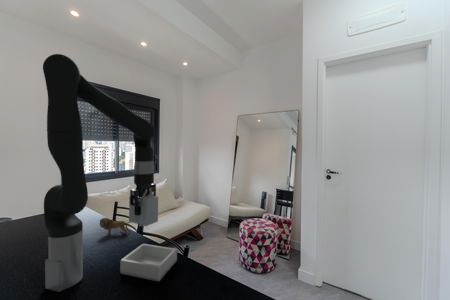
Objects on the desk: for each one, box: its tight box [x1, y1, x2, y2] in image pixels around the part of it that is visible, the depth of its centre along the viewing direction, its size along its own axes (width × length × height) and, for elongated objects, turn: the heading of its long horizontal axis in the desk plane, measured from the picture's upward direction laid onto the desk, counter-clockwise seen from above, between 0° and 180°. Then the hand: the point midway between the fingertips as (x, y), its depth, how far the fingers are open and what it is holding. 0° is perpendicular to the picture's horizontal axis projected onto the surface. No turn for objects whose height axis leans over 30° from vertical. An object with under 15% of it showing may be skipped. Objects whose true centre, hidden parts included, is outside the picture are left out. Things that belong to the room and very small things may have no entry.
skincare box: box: [128, 195, 159, 227], centre depth 83 cm, size 10×6×10 cm, turn 61°
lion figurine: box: [99, 217, 131, 236], centre depth 107 cm, size 15×5×9 cm, turn 109°
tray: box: [119, 243, 178, 282], centre depth 79 cm, size 13×16×5 cm
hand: (143, 211), depth 83 cm, fingers closed on skincare box, 7 cm apart
